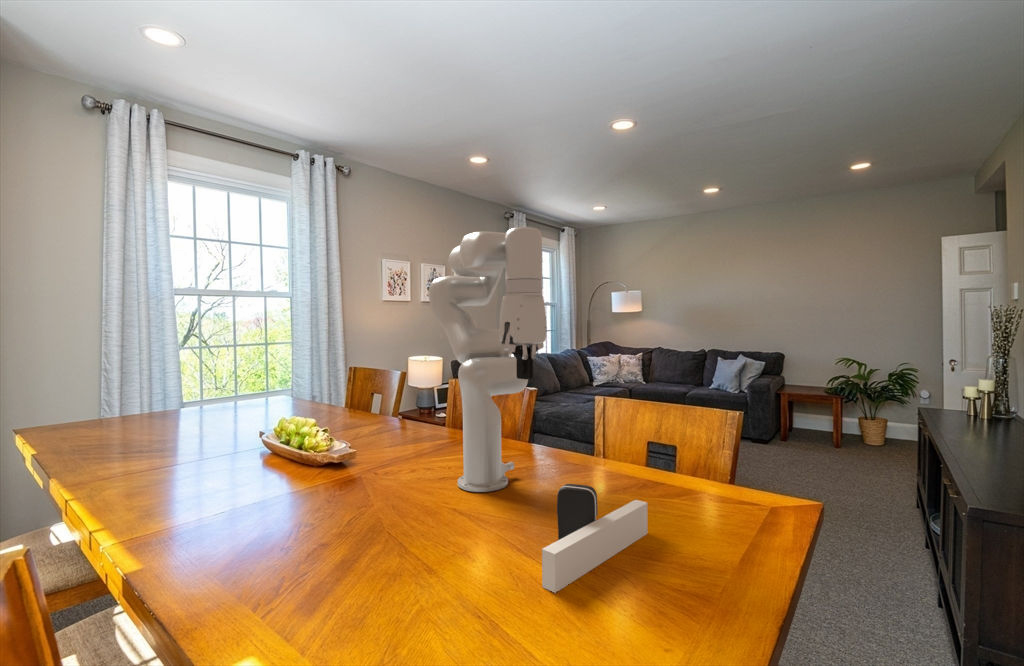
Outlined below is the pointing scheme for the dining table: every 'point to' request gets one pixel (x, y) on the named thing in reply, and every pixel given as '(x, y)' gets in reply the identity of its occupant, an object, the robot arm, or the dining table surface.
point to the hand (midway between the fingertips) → (524, 378)
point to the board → (592, 545)
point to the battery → (575, 508)
